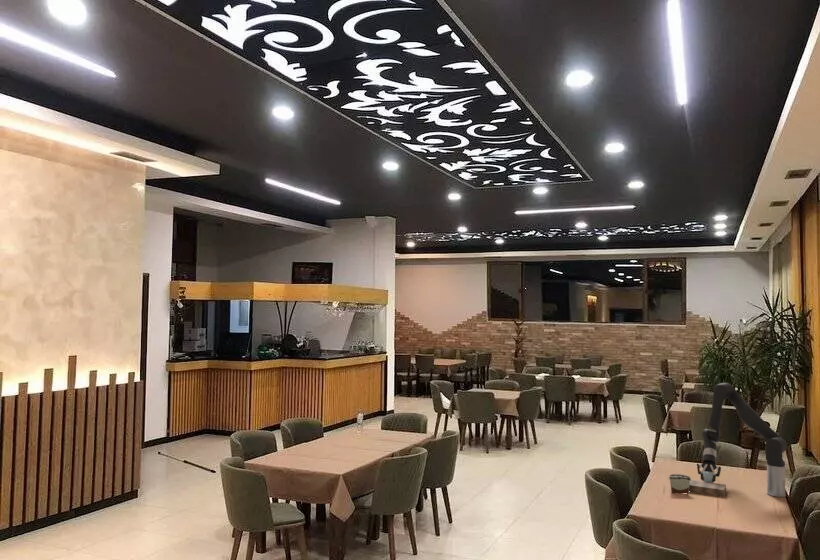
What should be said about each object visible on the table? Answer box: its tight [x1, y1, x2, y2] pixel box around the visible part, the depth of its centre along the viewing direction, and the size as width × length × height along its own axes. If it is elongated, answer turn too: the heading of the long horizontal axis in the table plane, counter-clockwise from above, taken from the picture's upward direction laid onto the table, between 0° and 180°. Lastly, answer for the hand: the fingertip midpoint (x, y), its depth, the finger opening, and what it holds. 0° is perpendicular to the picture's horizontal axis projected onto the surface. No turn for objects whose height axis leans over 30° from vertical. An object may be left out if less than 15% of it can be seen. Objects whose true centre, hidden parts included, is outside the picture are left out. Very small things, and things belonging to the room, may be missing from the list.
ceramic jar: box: [703, 471, 714, 483], centre depth 390 cm, size 6×6×9 cm
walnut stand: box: [689, 479, 727, 498], centre depth 380 cm, size 20×14×4 cm
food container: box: [668, 473, 692, 495], centre depth 376 cm, size 12×6×10 cm, turn 84°
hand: (707, 480), depth 389 cm, fingers closed on ceramic jar, 5 cm apart
